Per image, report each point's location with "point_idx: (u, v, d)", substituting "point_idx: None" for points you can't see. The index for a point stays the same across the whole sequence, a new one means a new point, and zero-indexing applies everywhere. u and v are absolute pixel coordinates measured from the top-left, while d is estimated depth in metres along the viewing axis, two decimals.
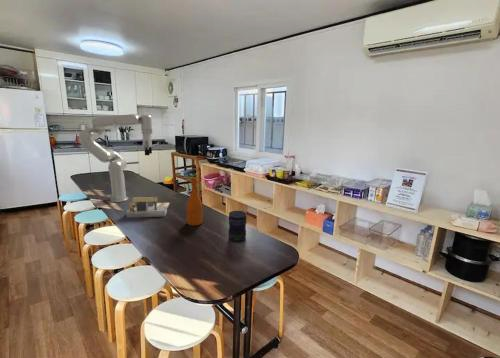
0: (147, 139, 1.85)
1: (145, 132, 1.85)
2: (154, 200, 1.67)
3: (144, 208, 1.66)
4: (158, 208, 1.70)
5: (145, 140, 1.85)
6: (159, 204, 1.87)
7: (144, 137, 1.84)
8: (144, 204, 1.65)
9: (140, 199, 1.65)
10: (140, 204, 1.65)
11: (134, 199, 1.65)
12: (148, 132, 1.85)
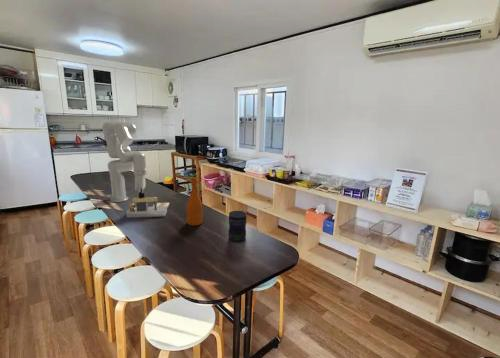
0: (140, 181, 1.61)
1: (138, 173, 1.61)
2: (154, 200, 1.67)
3: (144, 208, 1.66)
4: (158, 208, 1.70)
5: (138, 182, 1.61)
6: (159, 204, 1.87)
7: (136, 179, 1.60)
8: (144, 204, 1.65)
9: (140, 199, 1.65)
10: (140, 204, 1.65)
11: (134, 199, 1.64)
12: (141, 173, 1.61)
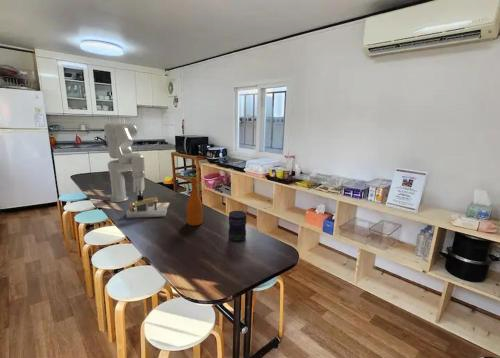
0: (138, 184, 1.56)
1: (136, 176, 1.56)
2: (155, 200, 1.67)
3: (144, 208, 1.66)
4: (158, 208, 1.70)
5: (136, 185, 1.56)
6: (159, 204, 1.87)
7: (135, 182, 1.55)
8: (144, 204, 1.65)
9: (142, 202, 1.61)
10: None
11: (137, 203, 1.58)
12: (140, 176, 1.56)
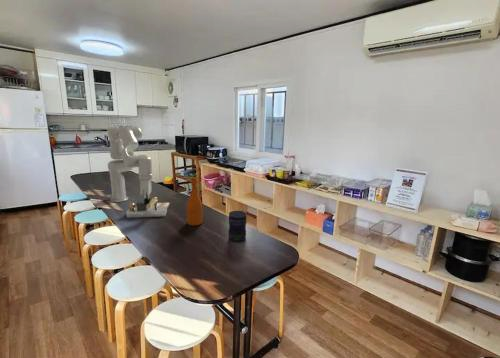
0: (146, 187, 1.52)
1: (143, 178, 1.52)
2: (156, 200, 1.68)
3: (144, 208, 1.66)
4: (158, 208, 1.70)
5: (143, 188, 1.52)
6: (159, 204, 1.87)
7: (142, 185, 1.51)
8: None
9: (152, 203, 1.59)
10: (140, 204, 1.65)
11: (151, 204, 1.56)
12: (147, 178, 1.52)
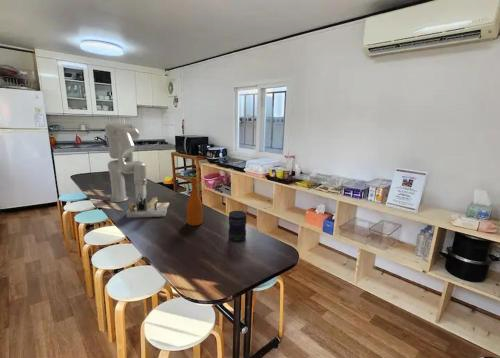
0: (140, 191, 1.61)
1: (138, 183, 1.60)
2: (156, 200, 1.68)
3: (144, 208, 1.66)
4: (158, 208, 1.70)
5: (138, 193, 1.60)
6: (159, 204, 1.87)
7: (137, 189, 1.60)
8: (144, 204, 1.65)
9: (153, 203, 1.59)
10: None
11: (151, 204, 1.56)
12: (142, 183, 1.61)
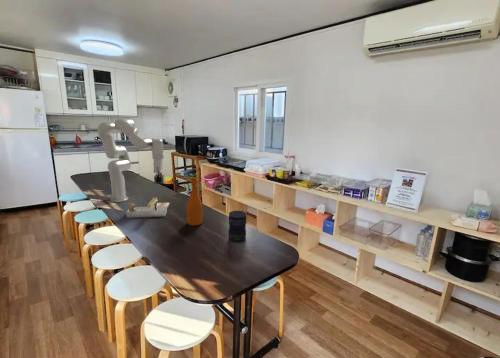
0: (158, 165, 1.74)
1: (156, 157, 1.74)
2: (156, 200, 1.68)
3: (161, 181, 1.79)
4: (158, 208, 1.70)
5: (156, 166, 1.74)
6: (159, 204, 1.87)
7: (155, 163, 1.73)
8: (161, 177, 1.79)
9: (153, 203, 1.59)
10: None
11: (151, 204, 1.56)
12: (159, 157, 1.74)
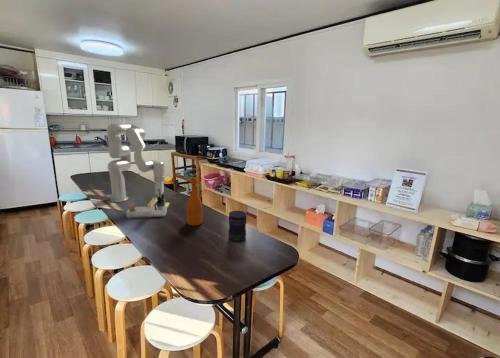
0: (159, 187, 1.78)
1: (157, 180, 1.78)
2: (156, 200, 1.68)
3: (162, 204, 1.84)
4: (158, 208, 1.70)
5: (157, 188, 1.78)
6: None
7: (156, 185, 1.77)
8: (162, 200, 1.83)
9: (153, 203, 1.59)
10: None
11: (151, 204, 1.56)
12: (160, 180, 1.78)
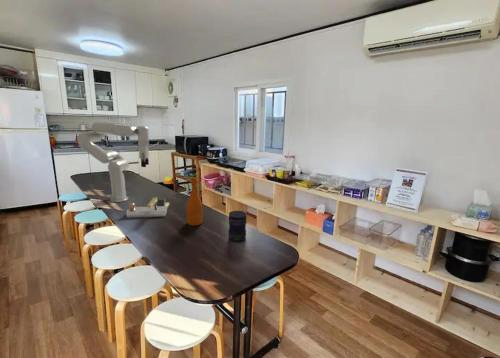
0: (144, 151, 1.82)
1: (142, 144, 1.82)
2: (156, 200, 1.68)
3: (162, 204, 1.84)
4: (158, 208, 1.70)
5: (141, 152, 1.82)
6: None
7: (140, 149, 1.82)
8: (162, 200, 1.83)
9: (153, 203, 1.59)
10: (159, 200, 1.82)
11: (151, 204, 1.56)
12: (145, 144, 1.83)
